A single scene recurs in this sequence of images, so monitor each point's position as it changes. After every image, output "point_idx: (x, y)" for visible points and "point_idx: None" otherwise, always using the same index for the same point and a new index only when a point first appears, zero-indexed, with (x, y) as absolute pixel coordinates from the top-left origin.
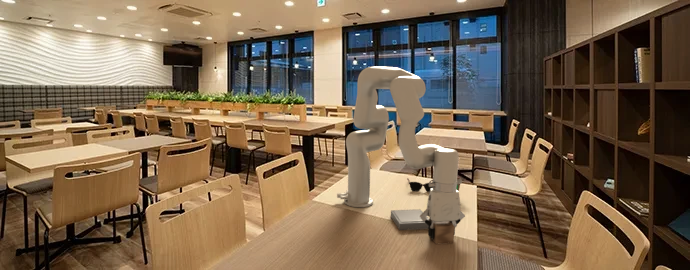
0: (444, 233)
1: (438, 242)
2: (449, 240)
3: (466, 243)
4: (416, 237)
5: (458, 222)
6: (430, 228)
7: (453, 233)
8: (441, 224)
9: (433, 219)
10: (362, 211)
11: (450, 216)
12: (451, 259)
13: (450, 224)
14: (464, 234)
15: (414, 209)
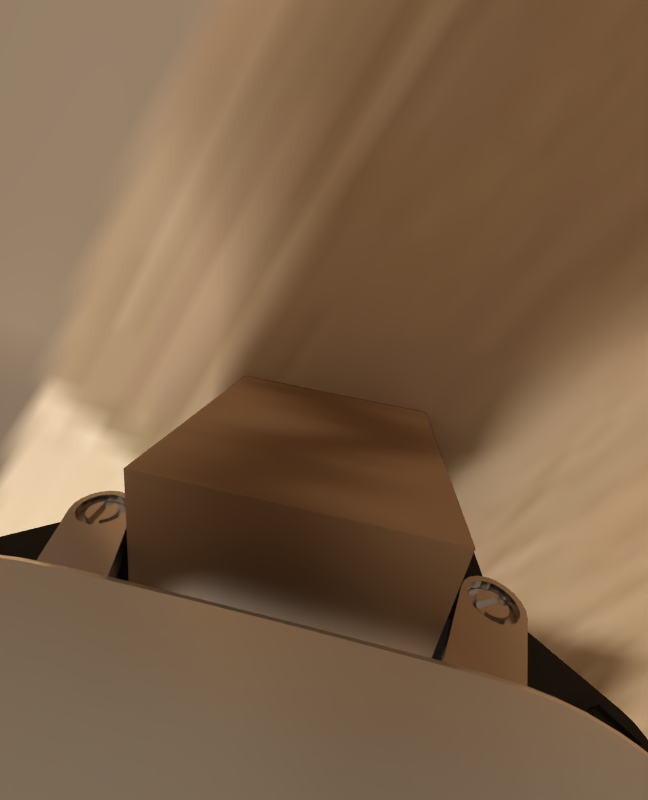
0: (329, 445)
1: (400, 413)
2: (278, 394)
3: (124, 332)
4: (522, 569)
5: (6, 541)
6: (484, 589)
7: (203, 414)
8: (324, 589)
9: None
10: None
11: (32, 733)
12: (496, 25)
13: (167, 538)
14: (72, 472)
15: None
